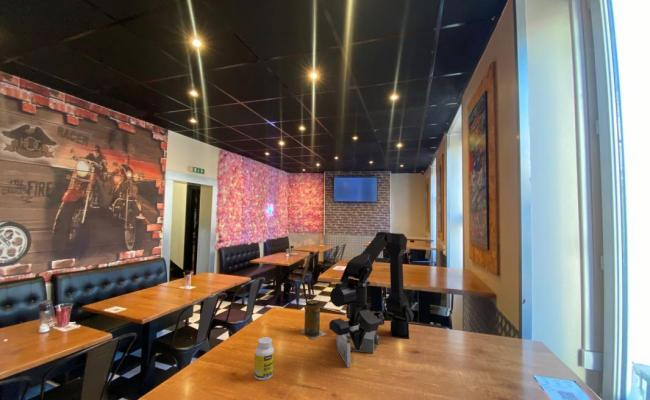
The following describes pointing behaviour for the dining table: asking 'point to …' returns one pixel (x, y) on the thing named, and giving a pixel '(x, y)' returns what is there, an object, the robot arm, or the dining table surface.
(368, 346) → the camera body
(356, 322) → the robot arm
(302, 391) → the dining table surface
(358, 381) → the dining table surface
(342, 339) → the side door
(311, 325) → the condiment
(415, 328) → the dining table surface
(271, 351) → the supplement bottle
